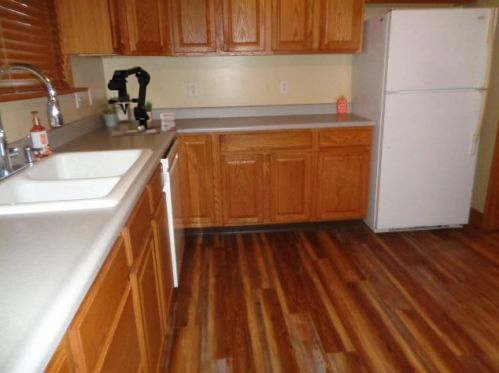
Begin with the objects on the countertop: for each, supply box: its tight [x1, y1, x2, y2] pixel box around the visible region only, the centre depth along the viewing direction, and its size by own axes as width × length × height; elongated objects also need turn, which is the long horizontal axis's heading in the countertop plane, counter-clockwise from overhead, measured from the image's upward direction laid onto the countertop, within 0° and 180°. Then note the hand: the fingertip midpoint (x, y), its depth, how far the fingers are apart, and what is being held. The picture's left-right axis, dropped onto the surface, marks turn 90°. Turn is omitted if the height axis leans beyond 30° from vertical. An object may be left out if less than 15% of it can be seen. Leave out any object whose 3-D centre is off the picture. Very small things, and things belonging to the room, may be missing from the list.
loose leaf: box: [126, 125, 143, 133], centre depth 243 cm, size 9×10×4 cm
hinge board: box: [110, 125, 159, 138], centre depth 243 cm, size 12×28×5 cm, turn 104°
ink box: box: [159, 112, 177, 132], centre depth 255 cm, size 8×5×12 cm, turn 114°
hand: (125, 114), depth 249 cm, fingers closed
